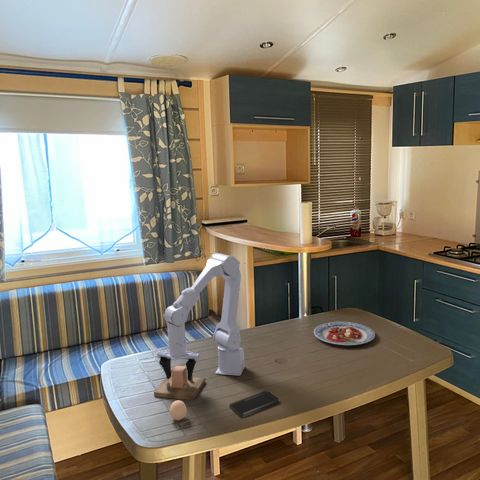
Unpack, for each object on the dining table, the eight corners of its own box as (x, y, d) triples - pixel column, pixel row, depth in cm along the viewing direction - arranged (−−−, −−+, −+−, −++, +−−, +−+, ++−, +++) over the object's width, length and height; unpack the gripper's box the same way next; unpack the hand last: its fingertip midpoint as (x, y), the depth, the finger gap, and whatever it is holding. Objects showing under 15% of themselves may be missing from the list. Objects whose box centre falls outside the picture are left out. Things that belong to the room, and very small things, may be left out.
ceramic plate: (313, 325, 203) (313, 319, 202) (369, 326, 199) (369, 320, 199) (314, 349, 178) (314, 342, 177) (379, 350, 174) (379, 343, 174)
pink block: (187, 382, 150) (186, 366, 149) (183, 388, 147) (182, 371, 146) (176, 381, 151) (175, 365, 150) (172, 387, 148) (171, 371, 147)
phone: (280, 400, 138) (240, 415, 131) (280, 403, 138) (240, 419, 131) (266, 390, 145) (227, 404, 137) (266, 393, 145) (227, 407, 137)
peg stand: (204, 382, 153) (204, 372, 153) (193, 400, 142) (193, 390, 141) (168, 379, 157) (167, 370, 156) (154, 396, 145) (153, 386, 145)
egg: (189, 421, 130) (187, 403, 129) (172, 425, 128) (170, 407, 127) (185, 412, 135) (183, 395, 134) (168, 416, 133) (167, 398, 132)
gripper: (152, 344, 144) (155, 382, 146) (193, 347, 141) (195, 385, 143) (160, 336, 151) (163, 372, 153) (200, 338, 148) (202, 375, 150)
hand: (179, 378), depth 149 cm, fingers open, 7 cm apart
